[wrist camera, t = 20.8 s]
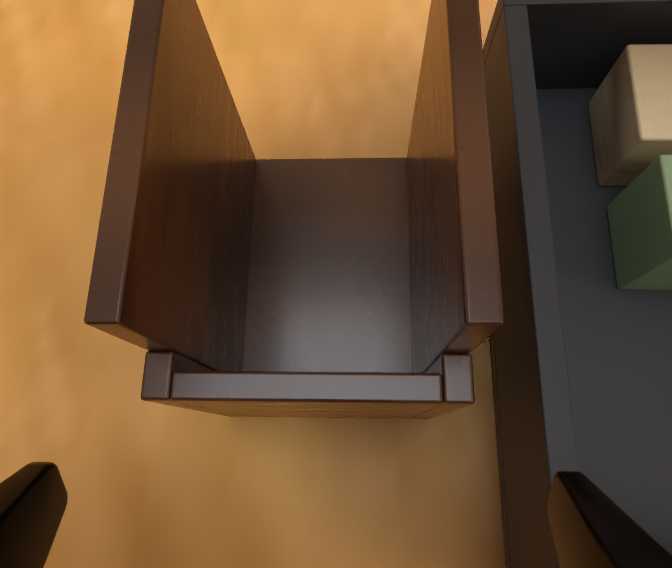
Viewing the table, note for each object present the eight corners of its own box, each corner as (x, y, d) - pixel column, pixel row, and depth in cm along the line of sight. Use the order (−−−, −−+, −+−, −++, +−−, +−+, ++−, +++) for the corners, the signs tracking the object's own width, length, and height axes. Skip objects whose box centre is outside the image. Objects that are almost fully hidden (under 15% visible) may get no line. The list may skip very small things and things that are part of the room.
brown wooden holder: (430, 418, 17) (510, 392, 8) (226, 416, 17) (71, 387, 8) (421, 167, 19) (473, -76, 10) (244, 169, 20) (142, -64, 11)
